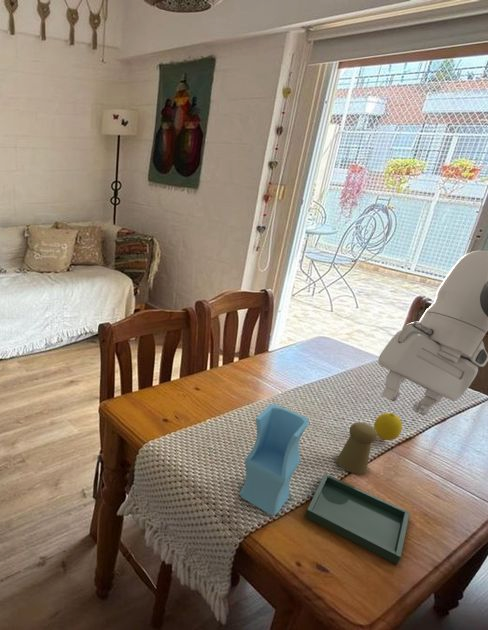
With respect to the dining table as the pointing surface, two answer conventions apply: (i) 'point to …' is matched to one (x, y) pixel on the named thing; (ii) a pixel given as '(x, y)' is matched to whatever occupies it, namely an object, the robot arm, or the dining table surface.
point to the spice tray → (360, 517)
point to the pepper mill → (357, 448)
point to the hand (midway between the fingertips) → (403, 406)
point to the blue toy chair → (273, 458)
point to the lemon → (388, 426)
